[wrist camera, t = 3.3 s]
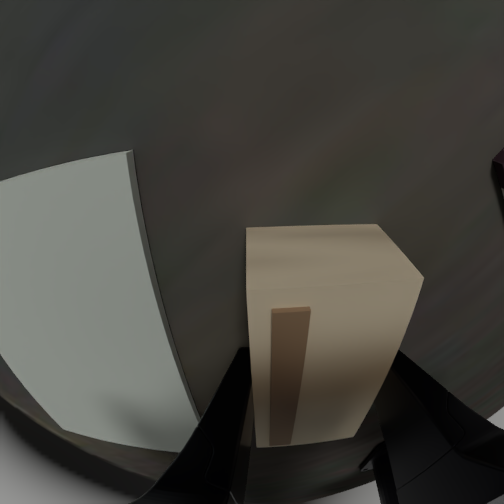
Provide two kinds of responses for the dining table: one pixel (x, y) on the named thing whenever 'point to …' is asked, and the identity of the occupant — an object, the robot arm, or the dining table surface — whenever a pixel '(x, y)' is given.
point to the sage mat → (89, 305)
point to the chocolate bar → (500, 168)
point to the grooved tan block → (322, 326)
